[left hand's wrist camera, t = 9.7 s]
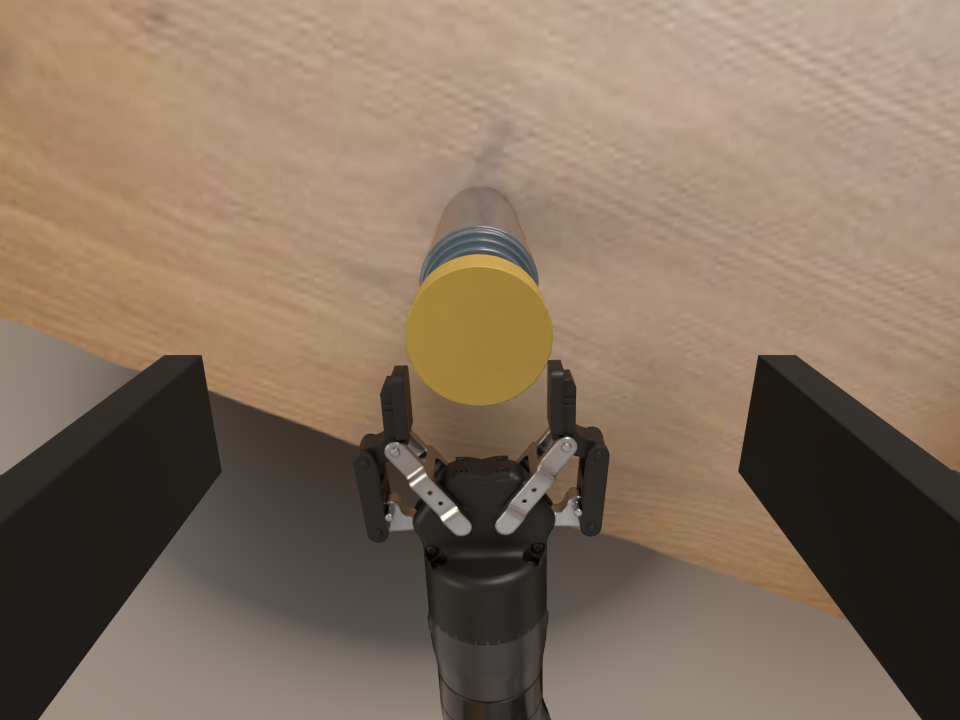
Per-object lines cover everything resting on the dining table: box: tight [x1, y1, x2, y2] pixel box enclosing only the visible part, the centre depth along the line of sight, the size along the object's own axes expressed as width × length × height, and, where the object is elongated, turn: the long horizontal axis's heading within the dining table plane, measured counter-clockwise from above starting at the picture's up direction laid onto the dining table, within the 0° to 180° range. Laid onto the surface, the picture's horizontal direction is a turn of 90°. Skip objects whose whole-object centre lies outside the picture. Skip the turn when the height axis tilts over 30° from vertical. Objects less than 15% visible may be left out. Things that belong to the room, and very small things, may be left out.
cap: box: [405, 254, 553, 406], centre depth 18 cm, size 4×4×2 cm
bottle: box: [420, 187, 539, 286], centre depth 27 cm, size 4×4×20 cm
